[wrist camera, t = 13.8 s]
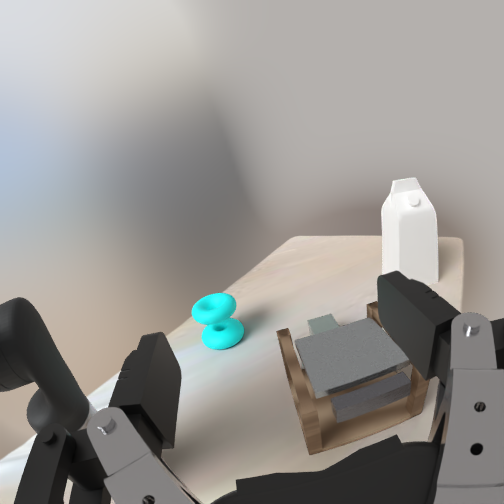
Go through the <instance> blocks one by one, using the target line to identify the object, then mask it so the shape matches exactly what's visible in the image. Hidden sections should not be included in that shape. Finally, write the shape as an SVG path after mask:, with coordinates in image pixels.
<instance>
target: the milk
mask: <svg viewBox="0 0 504 504" xmlns="http://www.w3.org/2000/svg"><path fill="white" fill-rule="evenodd" d="M381 211H382V212H381V215H382V274H383V275H384V274H387V273H390V272H393V271H396V270H397V271H399V272H401V273H402V274H403V275H404V276H406V277H407V278H408V279H409V280H410V279H414V280H417V281H420V282H422V283H424V284H426V285H431V284H434V283H437V282H438V236H437V219H436V212H435V210H434V207H433V206H432V204H431V203H430V201H429V199H428V198H427V196H426V195H425V193H424V192H423V190H422V189H421V187H420V185H419V183H418V181H417V179H416V178H407V179H400V180H394V181H393V184H392V188H391V193H390V194H389V196H388V198H387V199H386V201H385V202H384V204H383V206H382V210H381Z"/></svg>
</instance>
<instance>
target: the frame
mask: <svg viewBox="0 0 504 504" xmlns="http://www.w3.org/2000/svg"><path fill="white" fill-rule="evenodd" d="M368 317H371V318H372V319H373V320H374V321H375V322H376V323H377V324H378V325H379V326H380V327H381V328H382V327H383V326H382V324H381V322H380V319H379V315H378V302H377V301H376V302H373V303H370V304H367V318H368ZM383 328H384V327H383ZM384 330H385V328H384ZM385 331H386V330H385ZM276 332H277V336H278V340H279V344H280V349H281V353H282V357H283V361H284V365H285V370H286V374H287V378H288V381H289V385H290V388H291V392H292V395H293V399H294V402H295V406H296V409H297V413H298V416H299V420H300V424H301V427H302V431H303V434H304V438H305V441H306V445H307V448H308V452H309V455H312V454H316V453H320V452H323V451H326V450H330V449H333V448H336V447H339V446H342V445H345V444H348V443H351V442H354V441H357V440H359V439H362V438H365V437H368V436H370V435H373V434H375V433H378V432H380V431H383V430H385V429H388V428H390V427H392V426H395V425H397V424H399V423H401V422H404V421H406V420H408V419H410V418H412V417H414V416H416V415H418V414H421V411H422V408H423V404H424V401H425V397H426V393H427V389H428V385H429V381H430V379H429V380H427V381H425V379H424V378H423V377H422V376H421V374H420V373H419V372H418V370H417V369H416V368H415V366H414V365H413V364H412V362H411V361H410V363H411V364H412V365H413V369H412V375H411V390H410V395H409V396H407V397H405V398H402V399H400V400H398V401H395V402H393V403H391V404H388V405H386V406H383V407H381V408H379V409H376V410H373V411H371V412H368V413H366V414H363V415H360V416H357V417H355V418H352V419H349V420H346V421H343V422H340V423H337V421H336V419H335V417H334V414H333V412H332V406H331V398H333V397H337V396H340V395H343V394H346V393H349V392H351V391H354V390H357V389H360V388H363V387H365V386H368V385H371V384H373V383H376V382H379V381H381V380H384V379H386V378H389V377H391V376H394V375H396V374H397V373H396V371H394V372H391V373H389V374H386V375H384V376H381V377H379V378H376V379H374V380H371V381H368V382H366V383H363V384H360V385H357V386H354V387H352V388H349V389H346V390H343V391H340V392H337V393H334V394H330V395H327V396H324V397H321V398H317V399H316V397H315V394H314V391H313V389H312V386H311V384H310V381H309V378H308V376H307V373H306V371H305V369H302V370H301V368H300V365H299V362H298V359H297V356H296V353H295V351H294V348H293V344H292V339H291V334H290V332H289V329H288V328H286V329H282V330H279V331H276ZM386 332H387V331H386ZM387 333H388V332H387ZM388 335H389V333H388ZM389 336H390V335H389ZM390 337H391V336H390ZM391 338H392V337H391ZM392 340H393V338H392ZM393 341H394V340H393ZM394 342H395V341H394ZM395 343H396V342H395ZM396 344H397V343H396ZM400 349H401V348H400Z"/></svg>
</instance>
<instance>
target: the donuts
mask: <svg viewBox="0 0 504 504" xmlns="http://www.w3.org/2000/svg"><path fill="white" fill-rule="evenodd" d="M235 310H236V301H235V299H234V298H233V297H232V296H231V295H229V294H226V293H216V294H211V295H208V296H206V297H204V298H202V299H200V300H199V301H198V302H196V304H195V305H194V307H193V309H192V316H193V318H194V319H195V320H196V321H197V322H199V323H201V324H205V325H207V326H206V327H205V329H204V330H203V332H202V341H203V343H204V344H205V345H206V346H207V347H209V348H211V349H217V350H219V349H226V348H229V347H231V346H233V345H235V344H236V343H238V342H239V341H240V340H241V338H242V337H243V334H244V327H243V325H242V323H241V322H240V321H238V320H236V319H233V318H229V317H231V316H232V314H233V313H234V312H235Z"/></svg>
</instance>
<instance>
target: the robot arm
mask: <svg viewBox="0 0 504 504" xmlns="http://www.w3.org/2000/svg"><path fill="white" fill-rule="evenodd" d="M377 289H378V315H379V319H380V322H381V324H382V326H383V327H384V328H385V330H386V331H387V332H388V333H389V335H390V336H391V337H392V338H393V340H394V341H395V342H396V343H397V345H398V346H399V347H400V348H401V350H402V351H403V352H404V354H405V355H406V356H407V357H408V359H409V360H410V361H411V362H412V364H413V365H414V366H415V368H416V369H417V370H418V372H419V373H420V374H421V376H422V377H423V378H424V379H425V381H427V380H429V379H431V378H433V377H435V376H437V377H438V378H439V379H440V380H439V384H438V391H437V398H436V405H435V411H434V417H433V422H432V427H431V431H430V435H429V438H428V441H427V442H424V441H423V442H406V443H401V441H400V439H399V438H398V436H397V435H394V436H392V437H390V438H387V439H385V440H382V441H380V442H377V443H375V444H372V445H370V446H367V447H365V448H362V449H359V450H358V451H356V452H355V453H353V454H351V455H350V456H348V457H346V458H345V459H343V460H341V461H339V462H338V463H336V464H334V465H332V466H330V467H329V468H327V469H325V470H322V471H317V472H298V473H273V474H268V475H263V476H257V477H251V478H245V479H238V480H236V487H237V490H235V491H232V492H230V493H228V494H226V495H224V496H222V497H220V498H218V499H217V500H215V501H214V502H212V503H211V504H504V318H502V319H498V320H494V321H489V320H488V319H487V318H486V317H484V316H483V315H481V314H478V313H472V312H470V313H469V312H468V313H463V314H461V313H460V312H459V311H458V310H456V309H455V308H454V307H453V306H452V305H450V304H449V303H448V302H447V301H446V300H444V299H443V298H442V297H441V296H440V297H439V295H438V294H437V293H436V292H434V291H432V289H431V288H429V287H428V286H427V285H426V284H424V283H422V282H420V281H417V280H414V279H410V280H409V279H408V278H407V277H406V276H404V275H403V274H402V273H401V272H399V271H397V270H396V271H393V272H390V273H387V274H384V275H380V276H379V277H378V279H377ZM118 379H119V380H117V383H116V386H115V388H114V391H113V394H112V397H111V400H110V403H109V406H108V408H104V409H102V410H100V411H98V412H97V411H96V409H95V408H94V407H93V406H92V404H91V403H90V402H89V400H88V399H87V398H86V396H85V395H84V394H83V392H82V391H81V389H80V387H79V385H78V383H77V382H76V380H75V378H74V376H73V375H72V373H71V371H70V369H69V368H68V366H67V365H66V363H65V361H64V360H63V358H62V356H61V355H60V353H59V351H58V349H57V347H56V345H55V343H54V341H53V339H52V337H51V335H50V333H49V331H48V330H47V327H46V326H45V324H44V322H43V320H42V318H41V316H40V315H39V313H38V311H37V310H36V309H35V307H34V306H33V305H32V304H31V303H30V302H29V301H28V300H26V299H24V298H20V297H18V298H15V299H12V300H9V301H7V302H5V303H3V304H1V305H0V392H4V391H10V390H13V389H16V388H18V387H21V386H24V385H26V384H29V383H32V382H36V384H37V385H38V387H39V389H38V390H37V391H36V393H35V394H34V395H33V397H32V398H31V400H30V402H29V405H28V407H27V419H28V422H29V424H30V425H31V427H32V428H33V429H34V430H35V431H36V433H37V436H36V438H35V441H34V443H33V446H32V449H31V451H30V454H29V457H28V460H27V463H26V466H25V469H24V472H23V475H22V478H21V481H20V484H19V487H18V491H17V494H16V498H15V501H14V504H64V500H63V497H64V492H65V487H66V483H67V479H69V480H71V481H72V482H73V486H72V491H71V495H70V500H69V504H110V503H111V499H113V500H114V502H115V504H203V503H202V502H201V501H200V500H199V499H198V498H197V497H196V496H195V495H194V494H193V493H192V492H191V491H190V490H189V489H188V488H187V486H186V485H185V484H184V483H183V482H182V481H181V480H180V479H179V477H178V476H177V475H176V474H175V473H174V472H173V470H172V469H171V468H170V467H169V466H168V464H167V463H166V462H165V461H164V460H163V459H162V457H161V453H162V449H170V448H174V441H175V431H176V421H177V412H178V403H179V395H180V387H181V370H180V366H179V363H178V361H177V359H176V357H175V355H174V353H173V351H172V349H171V347H170V345H169V343H168V341H167V338H166V336H165V335H164V333H163V332H158V333H153V334H147V335H143V336H142V337H141V340H140V342H139V345H138V348H137V350H134V351H132V352H131V353H130V355H129V356H128V357H127V358H126V359H125V361H124V364H123V366H122V369H121V372H120V374H119V377H118Z"/></svg>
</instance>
